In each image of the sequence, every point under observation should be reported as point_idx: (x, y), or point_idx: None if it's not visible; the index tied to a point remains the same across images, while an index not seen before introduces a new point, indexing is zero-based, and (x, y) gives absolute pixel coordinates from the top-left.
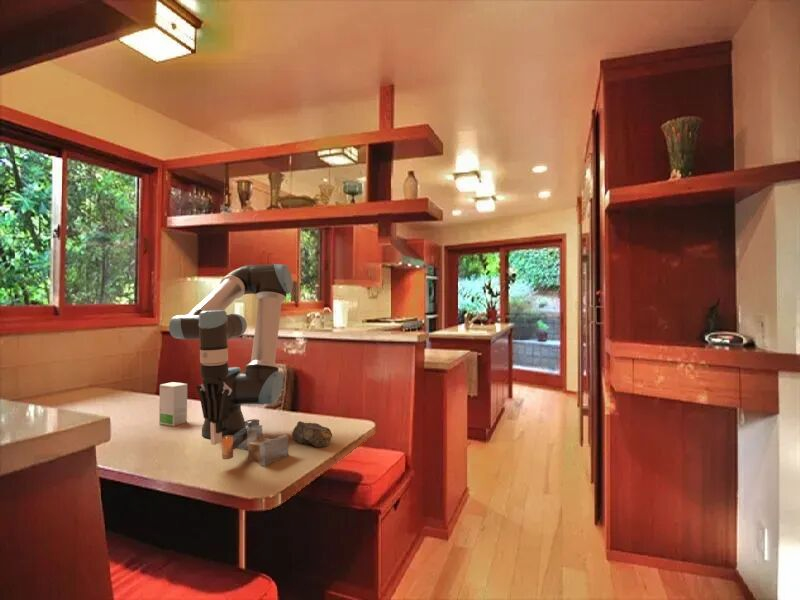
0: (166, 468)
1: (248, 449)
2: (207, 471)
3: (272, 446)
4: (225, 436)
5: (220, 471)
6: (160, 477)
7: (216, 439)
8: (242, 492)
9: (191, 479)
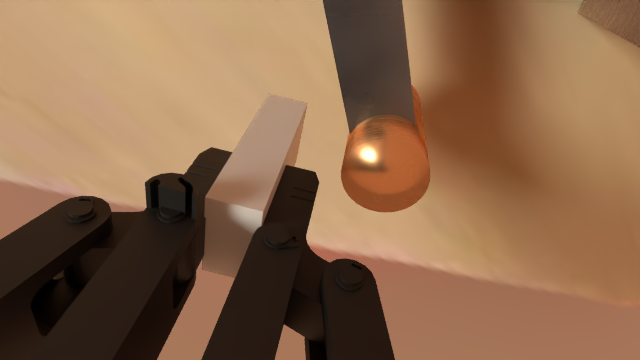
0: (106, 138)
1: None
2: (311, 139)
3: None
4: (363, 172)
5: None
6: None
7: (292, 165)
8: (583, 284)
9: None
